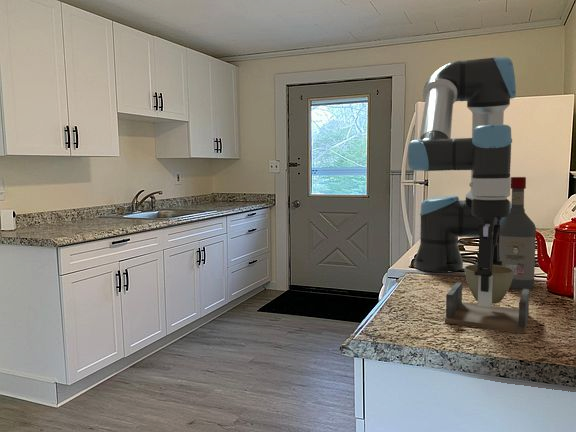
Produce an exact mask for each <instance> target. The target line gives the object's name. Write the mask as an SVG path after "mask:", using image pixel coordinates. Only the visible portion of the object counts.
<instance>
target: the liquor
mask: <svg viewBox="0 0 576 432" xmlns="http://www.w3.org/2000/svg"><path fill="white" fill-rule="evenodd" d="M510 178H511V184H510V190H511V201H510V202H511V209H510V213H509V216H507V217H506V218H505V219H504V220H503V221H502V222H501V224H500V225H501V230H500V240H499V257H500V260H499V261H502V266H505V267H509V268H511V269H513V270H514V275H513V279H512V282H511V285H510V287H509V290H516V291H523V289H529V291H530V290H533V288H534V286H535V269H536V267H535V265H536V263H535V262H536V236H537V235H536V233H537V228H536V227H537V226H536V225H535V223H534V221H532V219H531V218H530V217H529V216H528V215H527V213H526V211H525V189H527V183H526V182H527V177H526V176H510ZM499 266H501V265H499Z"/></svg>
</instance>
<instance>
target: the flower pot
mask: <svg viewBox="0 0 576 432" xmlns="http://www.w3.org/2000/svg"><path fill="white" fill-rule="evenodd" d="M477 267H478V263H477V264H476V263H475V264H469V265H466V266H463V270H464V275H465V280H466V283H467V286H468V288H469V290H470V292H471V295H472V296H473V298H474V299H475V301H477V302H478V275H475V271H476V272H477ZM482 269H487V268H482ZM513 275H514V270H513V269H511V268H509V267H505V266H499V265H492V275H491V276H493V287H492V305H493V304H499V303H501V302H502V301H503V299H504V298H505V296H506V295H507V293H508V291H509V290H510V289H509V287H510V285H511V282H512V279H513Z"/></svg>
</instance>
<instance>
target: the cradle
mask: <svg viewBox="0 0 576 432" xmlns="http://www.w3.org/2000/svg"><path fill="white" fill-rule="evenodd" d="M521 291H522V292H521V296H520V299H519V302H518V308H515V307H506V306H497V305H492V307H485V306H478V303H471V302H463V283H462V282H455V284H454V285H453V286H452V287H451V288H450V289H449V291H448V292H447V293H446V297H445V299H446V301H445V302H446V303H445V319H444V324H451V325H459V326H466V327H472V328H479V329H486V330H494V331H499V332H501V331H502V332H509V333H515V334H520V335H521V334H522V335H523V334H524V335H525V334H526V329H527V325H528V319H529V313H530V312H529V311H530V309H529V306H530V290H529V289H523V290H521Z"/></svg>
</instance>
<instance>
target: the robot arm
mask: <svg viewBox="0 0 576 432" xmlns="http://www.w3.org/2000/svg"><path fill="white" fill-rule="evenodd" d="M515 75H516V74H515V68H514V63H513V60H512V59H511V58H510V57H507V56H506V57H505V56H504V57H502V56H501V57H499V56H498V57H496V56H493V57H486V58H477V59H475V58H474V59H466V60H455V61H450V62H449V63H446V64H444V65H443V66H441V67H440V68H438V69H437V70H436V71H434V72H433V73H432V74H431V75H430V77H429V78H428V79H427V81H426V83H425V85H424V87H423V91H422V99H423V102H424V106H423V112H422V114H423V115H422V119H421V125H420V132H419V138H418V139H413V140H410V141H409V143H408V147H407V164H408V168H409V169H410V170H411V171H417V172H418V171H420V172H435V171H437V172H439V171H441V172H442V171H471V172H470V173H471V174H470V175H471V176H470V183H469V187H470V190H469V191H468V192H467V193H466V194H465V199H463V200H460V198H459V196H458V195H449V196H440V197H432V198H427V199H424V200H422V202H421V204H420V214H419V216H420V233H419V234H420V235H419V236H420V241H419V243H420V245H419V247H418V250H417V253H416V256H415V259H414V268H415V267H416V268H415V269H418V270H420V269H421V270H420V271H424V270H426V271H425V272H430V271H432V272H431V273H449V272H448V271H456V272H458V271H457V270H460V271H462V270H463V269H464V262H463V258H462V255H461V252H460V249H459V245H458V244H459V243H458V242H459V241H458V238H460V237H462V238H478V239H479V240H478V252H477V253H478V255H477V264H478V267H477V272H476V271H475V275H478V301H477V304H478V306H485V307H492V306H493V304H492V287H493V276H491V275H492V265H501V266H502V261H499V260H500V257H499V240H500V230H501V225H500V224H501V222H502V221H503V220H504V219H505V218H506V217H507V216H509V213H510V209H511V201H510V200H509V199H508V197H510V196H511V162H512V161H511V160H512V159H511V158H512V143H513V139H512V128H511V126H510V125H509V124H504V115H505V111H506V109H507V108H509V106H511V105H510V104H511V103H510V102H511V100H513V99H515V98H516V96H517V89H516V88H517V86H516V77H515ZM456 102H467V103H466V108H467V109H468V110H469V111H470V113H472V114H471V115H472V117H471V121H472V125H471V130H472V131H471V137H464V138H463V137H462V138H451V136H452V123H453V122H452V121H453V112H454V111H453V109H454V104H455V103H456ZM462 268H463V269H462ZM482 268H487V269H482ZM461 269H462V270H461Z"/></svg>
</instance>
